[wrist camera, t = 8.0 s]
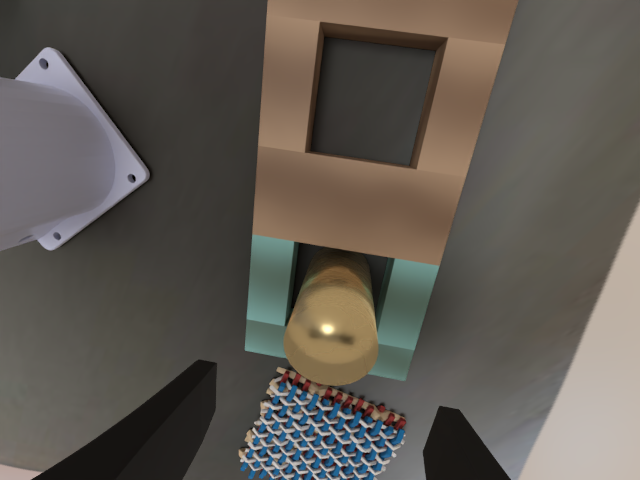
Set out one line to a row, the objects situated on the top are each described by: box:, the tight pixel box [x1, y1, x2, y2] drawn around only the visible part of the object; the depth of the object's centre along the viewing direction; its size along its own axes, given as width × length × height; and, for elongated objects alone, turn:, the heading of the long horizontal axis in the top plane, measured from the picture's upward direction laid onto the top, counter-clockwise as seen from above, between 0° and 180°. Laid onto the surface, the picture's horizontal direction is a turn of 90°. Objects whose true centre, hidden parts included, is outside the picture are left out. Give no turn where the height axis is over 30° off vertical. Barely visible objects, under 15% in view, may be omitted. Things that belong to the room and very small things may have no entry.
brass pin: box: [283, 247, 379, 386], centre depth 15 cm, size 4×4×7 cm
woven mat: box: [239, 367, 406, 480], centre depth 23 cm, size 10×11×2 cm
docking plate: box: [245, 0, 518, 381], centre depth 16 cm, size 20×10×2 cm, turn 172°
